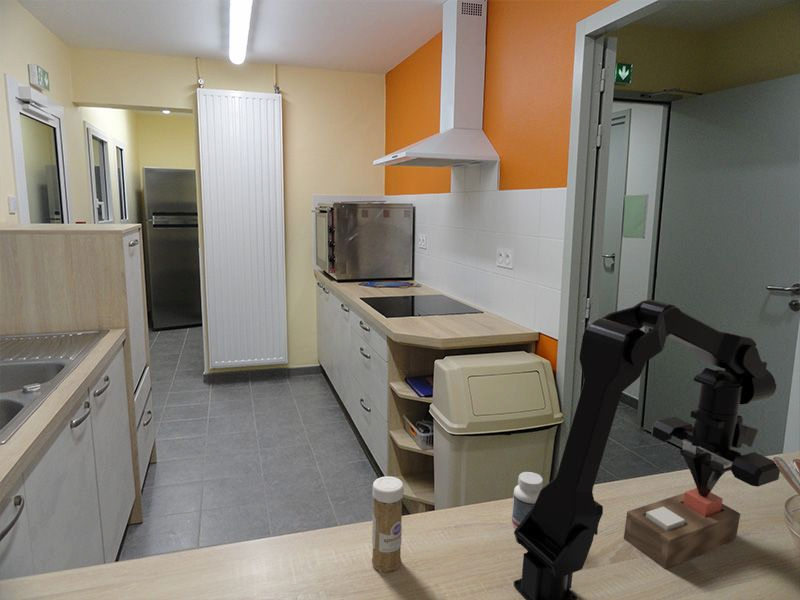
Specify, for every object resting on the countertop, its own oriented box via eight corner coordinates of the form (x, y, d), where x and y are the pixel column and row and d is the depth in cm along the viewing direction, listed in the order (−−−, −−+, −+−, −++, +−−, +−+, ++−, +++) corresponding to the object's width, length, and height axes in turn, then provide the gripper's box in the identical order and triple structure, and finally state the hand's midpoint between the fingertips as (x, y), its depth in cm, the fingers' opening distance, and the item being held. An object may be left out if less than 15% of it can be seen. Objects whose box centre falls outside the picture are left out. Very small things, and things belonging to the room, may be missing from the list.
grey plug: (663, 554, 86) (667, 526, 85) (642, 539, 90) (646, 512, 89) (680, 547, 88) (684, 519, 87) (659, 533, 91) (663, 506, 90)
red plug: (702, 531, 90) (706, 504, 89) (680, 518, 93) (685, 491, 92) (718, 525, 92) (722, 498, 90) (696, 512, 95) (700, 486, 94)
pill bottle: (543, 536, 91) (547, 488, 89) (511, 532, 92) (515, 484, 90) (541, 518, 96) (546, 471, 94) (511, 513, 97) (514, 468, 95)
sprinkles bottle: (391, 577, 80) (393, 494, 78) (365, 566, 83) (366, 485, 80) (406, 559, 84) (409, 480, 81) (381, 549, 86) (383, 471, 84)
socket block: (665, 569, 84) (669, 540, 83) (623, 538, 91) (627, 511, 90) (735, 540, 91) (740, 513, 90) (692, 514, 98) (696, 489, 97)
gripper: (809, 422, 83) (791, 514, 87) (697, 382, 100) (686, 460, 103) (764, 435, 79) (747, 532, 82) (655, 390, 95) (644, 472, 98)
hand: (703, 495), depth 91 cm, fingers closed, pressing on red plug
